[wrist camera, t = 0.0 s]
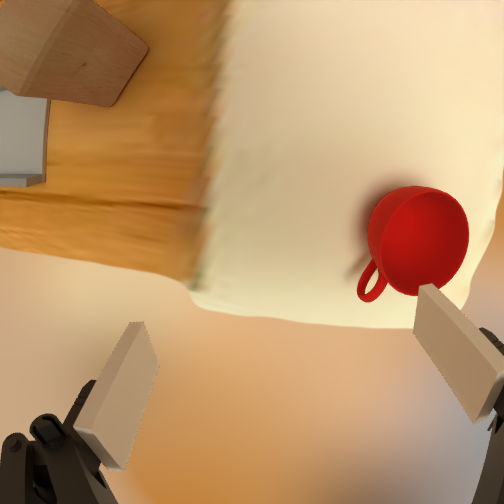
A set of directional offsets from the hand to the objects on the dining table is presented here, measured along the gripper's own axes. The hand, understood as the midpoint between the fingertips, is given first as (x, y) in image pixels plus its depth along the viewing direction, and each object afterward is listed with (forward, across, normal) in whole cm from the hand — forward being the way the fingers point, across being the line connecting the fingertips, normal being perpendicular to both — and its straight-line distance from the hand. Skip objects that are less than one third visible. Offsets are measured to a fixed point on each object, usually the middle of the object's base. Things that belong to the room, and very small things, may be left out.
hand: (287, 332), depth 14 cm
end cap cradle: (+28, -37, +19) cm, 50 cm away
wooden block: (+28, -18, +23) cm, 41 cm away
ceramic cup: (+28, +17, -6) cm, 33 cm away
